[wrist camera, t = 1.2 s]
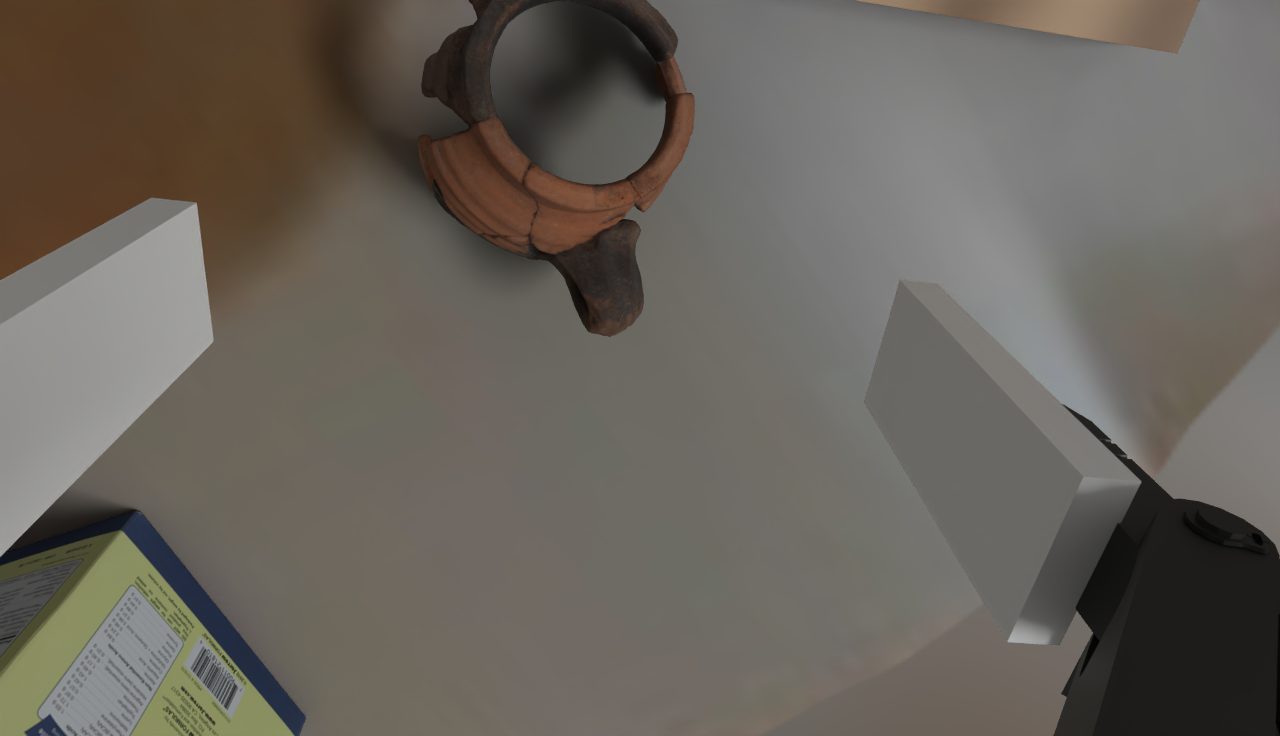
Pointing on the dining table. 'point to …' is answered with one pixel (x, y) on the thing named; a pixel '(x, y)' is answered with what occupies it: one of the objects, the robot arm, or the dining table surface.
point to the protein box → (125, 644)
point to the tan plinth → (1076, 17)
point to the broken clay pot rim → (530, 196)
